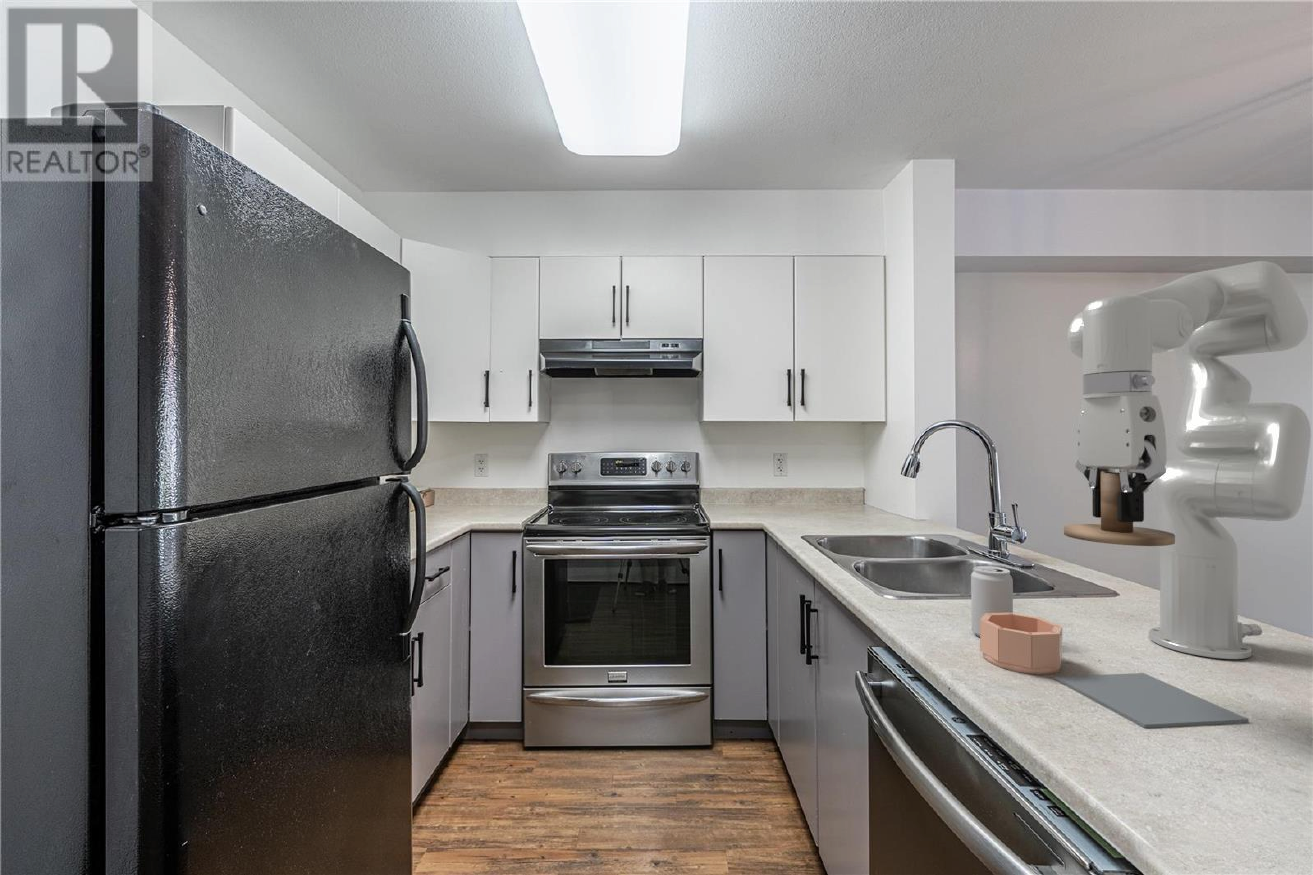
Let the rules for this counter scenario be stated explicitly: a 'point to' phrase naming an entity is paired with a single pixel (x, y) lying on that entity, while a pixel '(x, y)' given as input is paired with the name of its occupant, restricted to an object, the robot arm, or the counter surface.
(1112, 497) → the lid
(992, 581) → the beverage can
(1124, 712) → the mat
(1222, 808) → the counter surface
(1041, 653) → the bowl
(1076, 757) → the counter surface
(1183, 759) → the counter surface
